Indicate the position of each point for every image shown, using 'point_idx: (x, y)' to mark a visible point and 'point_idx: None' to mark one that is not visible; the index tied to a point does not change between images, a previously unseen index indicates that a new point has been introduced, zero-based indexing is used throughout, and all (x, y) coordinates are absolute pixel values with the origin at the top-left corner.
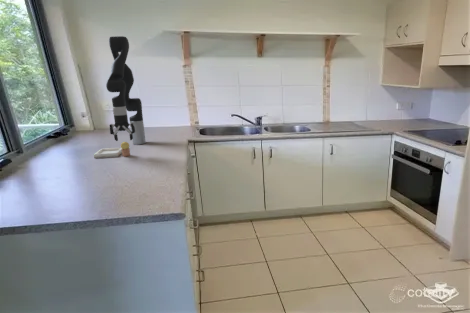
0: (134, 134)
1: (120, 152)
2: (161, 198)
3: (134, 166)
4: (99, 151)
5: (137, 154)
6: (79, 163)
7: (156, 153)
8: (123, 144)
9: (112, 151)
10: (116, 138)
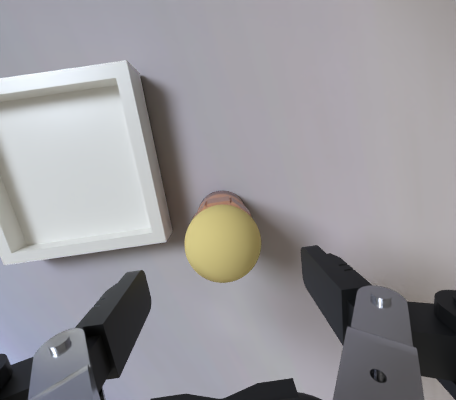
0: None
1: (154, 162)
2: None
3: (330, 384)
4: None
5: (283, 178)
6: (11, 333)
7: (408, 165)
8: (224, 281)
9: (70, 125)
10: (138, 331)
